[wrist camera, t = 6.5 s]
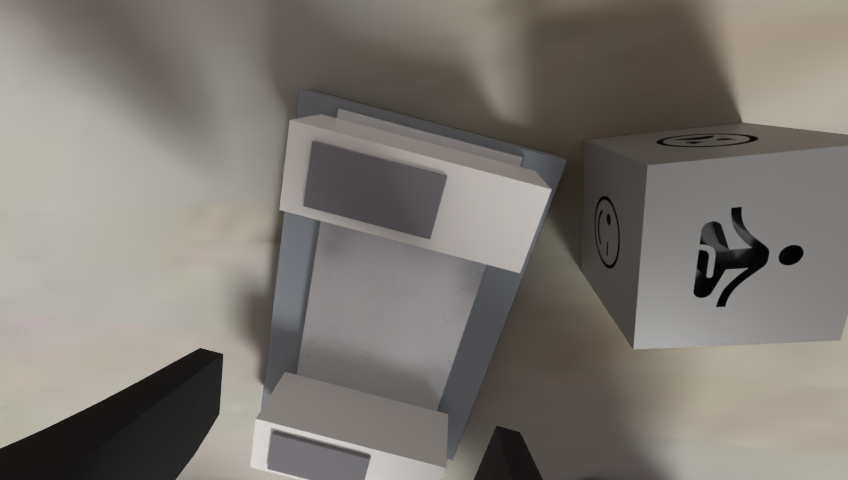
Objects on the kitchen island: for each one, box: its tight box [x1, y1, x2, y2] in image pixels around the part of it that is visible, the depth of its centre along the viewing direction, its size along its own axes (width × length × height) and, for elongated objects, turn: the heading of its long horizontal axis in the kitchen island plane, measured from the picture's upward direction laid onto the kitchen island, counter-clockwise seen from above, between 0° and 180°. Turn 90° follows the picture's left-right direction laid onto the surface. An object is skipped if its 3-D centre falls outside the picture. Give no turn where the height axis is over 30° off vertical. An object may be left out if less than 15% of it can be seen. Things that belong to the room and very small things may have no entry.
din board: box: [261, 90, 567, 460], centre depth 16 cm, size 14×9×2 cm, turn 166°
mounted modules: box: [250, 114, 552, 480], centre depth 14 cm, size 13×7×3 cm, turn 166°
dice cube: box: [581, 123, 848, 349], centre depth 12 cm, size 5×5×5 cm
